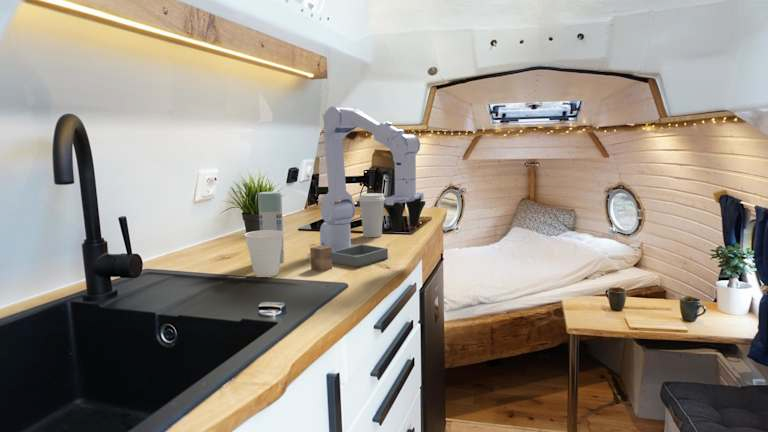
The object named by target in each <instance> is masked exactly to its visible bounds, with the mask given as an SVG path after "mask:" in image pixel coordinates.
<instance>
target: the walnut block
mask: <svg viewBox="0 0 768 432" xmlns="http://www.w3.org/2000/svg"><path fill="white" fill-rule="evenodd" d="M309 251H310V252H309V253H310V270H313V271H316V272H324V271H328V270H331V269H333V263H332V248H331V247H329V246H323V245H317V246H312V247H310V249H309Z"/></svg>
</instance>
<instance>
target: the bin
mask: <svg viewBox="0 0 768 432" xmlns="http://www.w3.org/2000/svg"><path fill="white" fill-rule="evenodd" d="M388 249H389V248H387V247H380V246H376V245H375V246H374V245H368V244H357V245H353V246H351V247H349V248H345V249H341V250H337V251H333V252H332V264H335V265H342V266H346V267H351V268H356V269H357V268H361V267H365V266H367V265H371V264H374V263H377V262H381V261H384V260H387V259H388V258H389V256H388V255H389V251H388ZM388 260H389V259H388Z"/></svg>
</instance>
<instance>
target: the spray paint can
mask: <svg viewBox="0 0 768 432" xmlns="http://www.w3.org/2000/svg"><path fill="white" fill-rule="evenodd" d="M257 205H258V221H259V231H261V230H278V231H282V232H284V226H283V225H284V224H283V222H284V221H283V220H284V219H283V199H282V192H281V191H261V192H258V194H257ZM284 246H285V245H284V237H283V238H282V247H281V255H280V262H279V265H280V264H282V263H284V262H285V250H284Z"/></svg>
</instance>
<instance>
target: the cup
mask: <svg viewBox="0 0 768 432" xmlns="http://www.w3.org/2000/svg"><path fill="white" fill-rule="evenodd" d="M284 234H285V233H284V231H283V232H282V231H278V230H261V231H260V230H254V231H249V232H246V233H244V237H245V240H246V245H247V249H248V253H249V257H250V261H251V266H252V271H253V275H254V276H255V277H256V278H259V277H268V278H273V277H275V276H277V275H278V274H279V272H280V271H279V270H280V264H279V262H280V255H281V247H282V238H283V239H284Z"/></svg>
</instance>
